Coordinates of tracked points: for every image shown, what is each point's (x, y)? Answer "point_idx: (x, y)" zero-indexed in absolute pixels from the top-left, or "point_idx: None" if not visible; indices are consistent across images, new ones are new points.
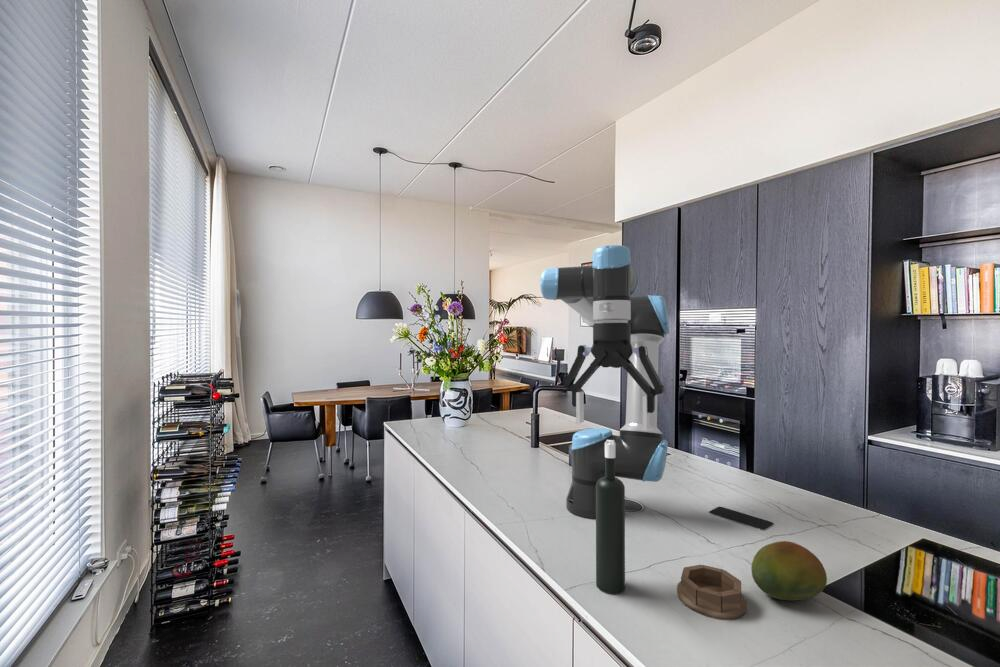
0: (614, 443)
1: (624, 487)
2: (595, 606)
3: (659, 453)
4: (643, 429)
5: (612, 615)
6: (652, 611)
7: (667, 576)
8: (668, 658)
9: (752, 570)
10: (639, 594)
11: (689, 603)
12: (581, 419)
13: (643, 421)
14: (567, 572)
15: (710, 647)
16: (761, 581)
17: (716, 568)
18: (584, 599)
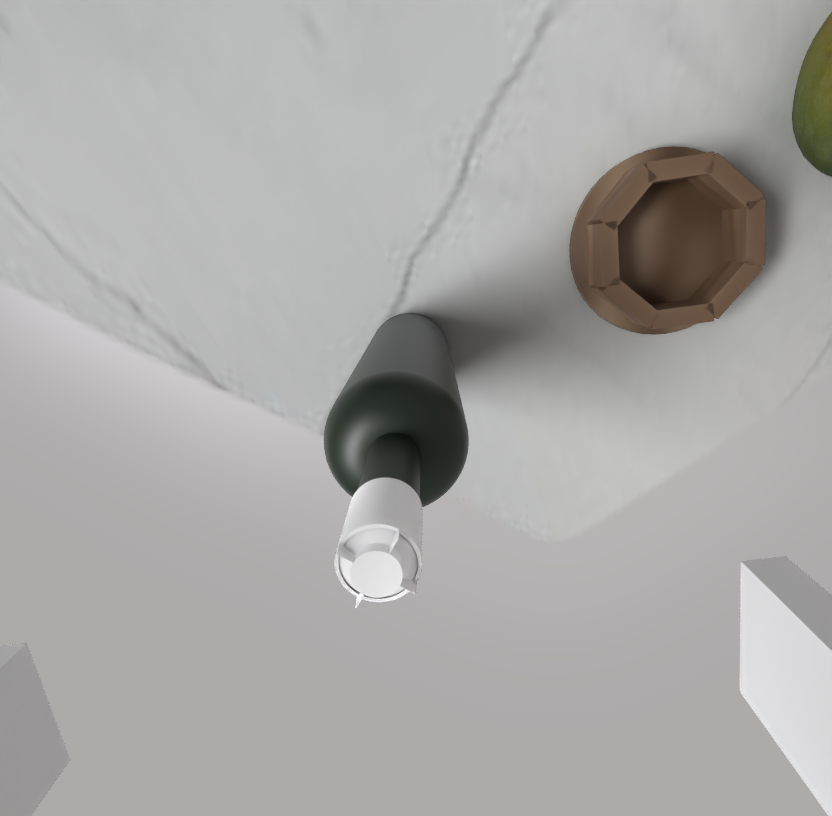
0: (415, 559)
1: (465, 424)
2: None
3: None
4: (750, 693)
5: None
6: (537, 392)
7: (528, 198)
8: (604, 518)
9: (808, 123)
10: (488, 341)
11: (617, 323)
12: (29, 741)
13: (805, 768)
14: (281, 360)
15: (675, 439)
16: (826, 167)
17: (692, 159)
18: None
